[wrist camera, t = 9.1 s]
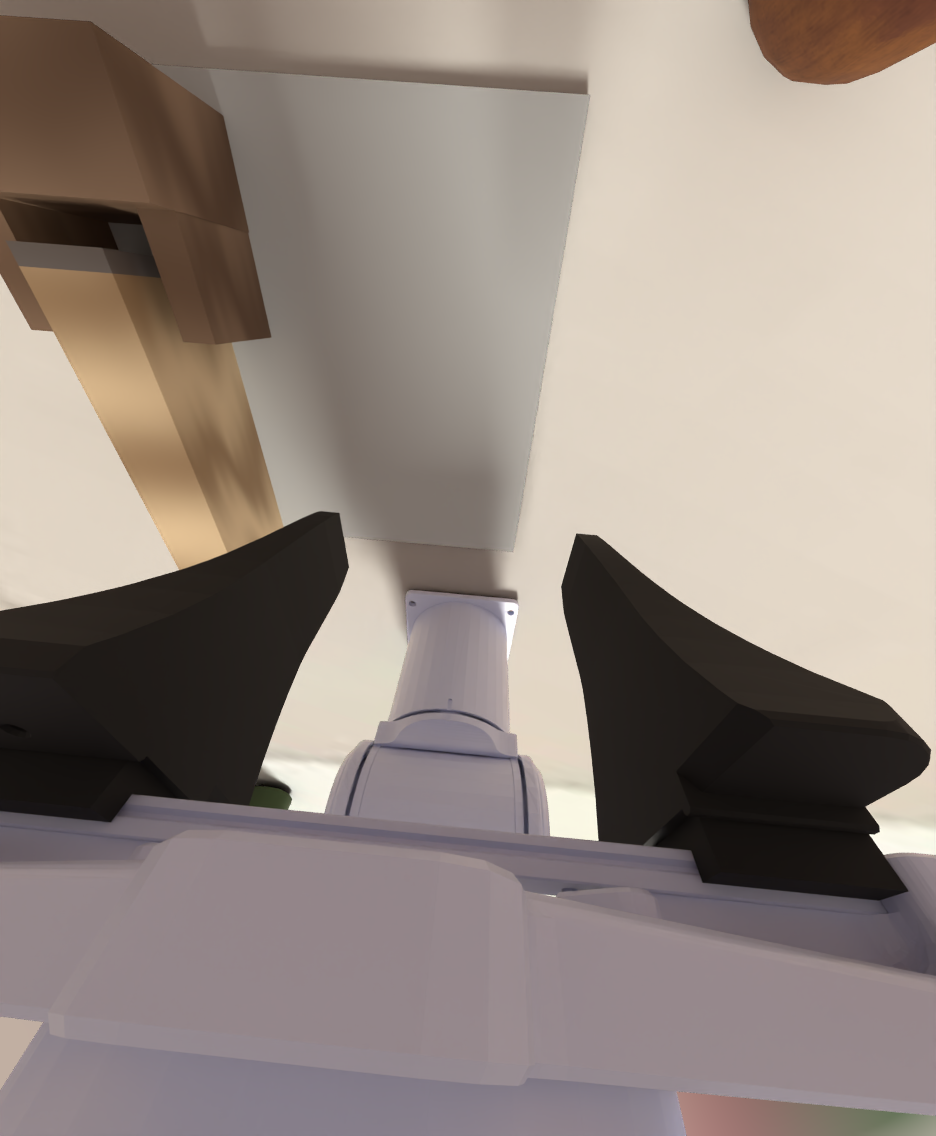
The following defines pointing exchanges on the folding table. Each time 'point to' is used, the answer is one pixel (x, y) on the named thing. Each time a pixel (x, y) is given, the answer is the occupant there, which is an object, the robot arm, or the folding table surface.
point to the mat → (397, 291)
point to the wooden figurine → (840, 36)
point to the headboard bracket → (121, 173)
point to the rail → (158, 397)
